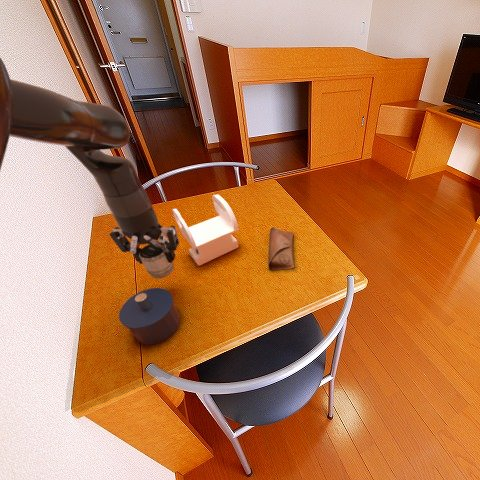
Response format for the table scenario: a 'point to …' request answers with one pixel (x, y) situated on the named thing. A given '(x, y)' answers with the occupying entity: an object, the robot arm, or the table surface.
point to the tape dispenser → (210, 233)
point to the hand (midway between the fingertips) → (157, 260)
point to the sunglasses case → (280, 250)
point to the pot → (159, 329)
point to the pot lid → (146, 308)
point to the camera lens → (155, 261)
